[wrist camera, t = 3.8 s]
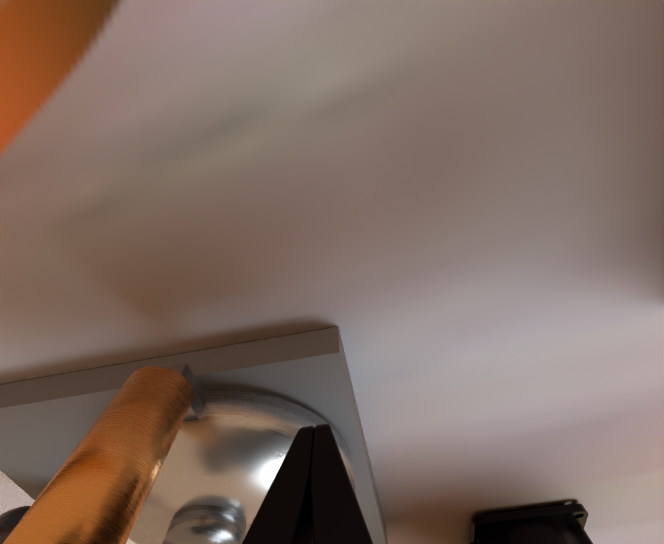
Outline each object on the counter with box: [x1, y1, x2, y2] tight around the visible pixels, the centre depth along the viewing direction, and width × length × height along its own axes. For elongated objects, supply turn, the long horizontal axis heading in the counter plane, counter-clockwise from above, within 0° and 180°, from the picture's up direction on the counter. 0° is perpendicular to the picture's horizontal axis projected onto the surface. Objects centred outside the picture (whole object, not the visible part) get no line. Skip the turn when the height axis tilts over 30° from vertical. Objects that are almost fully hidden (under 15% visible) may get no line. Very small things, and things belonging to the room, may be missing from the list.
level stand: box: [0, 327, 388, 544], centre depth 16 cm, size 16×16×2 cm
